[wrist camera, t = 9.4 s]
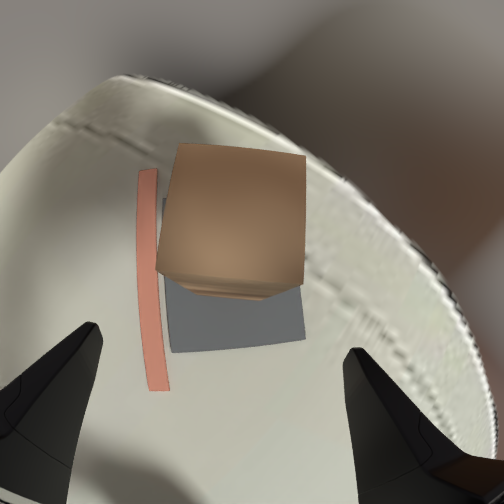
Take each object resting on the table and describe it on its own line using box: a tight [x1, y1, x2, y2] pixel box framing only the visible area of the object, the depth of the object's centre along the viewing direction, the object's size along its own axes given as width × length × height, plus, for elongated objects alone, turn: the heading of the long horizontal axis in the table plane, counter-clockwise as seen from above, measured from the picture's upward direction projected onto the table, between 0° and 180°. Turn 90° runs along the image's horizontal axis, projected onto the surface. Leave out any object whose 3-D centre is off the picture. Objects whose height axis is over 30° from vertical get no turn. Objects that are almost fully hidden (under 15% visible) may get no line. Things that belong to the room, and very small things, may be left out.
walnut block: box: [155, 143, 306, 301], centre depth 15 cm, size 5×5×12 cm
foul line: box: [137, 168, 170, 391], centre depth 20 cm, size 18×2×1 cm, turn 6°
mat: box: [163, 198, 306, 353], centre depth 21 cm, size 12×10×1 cm
